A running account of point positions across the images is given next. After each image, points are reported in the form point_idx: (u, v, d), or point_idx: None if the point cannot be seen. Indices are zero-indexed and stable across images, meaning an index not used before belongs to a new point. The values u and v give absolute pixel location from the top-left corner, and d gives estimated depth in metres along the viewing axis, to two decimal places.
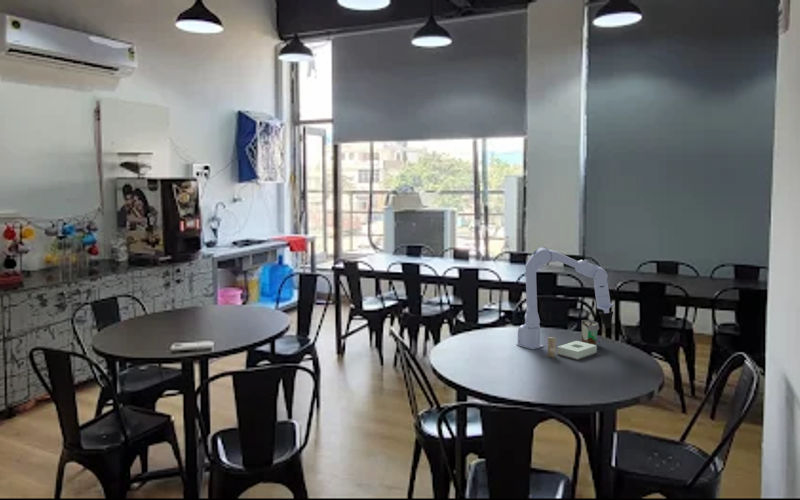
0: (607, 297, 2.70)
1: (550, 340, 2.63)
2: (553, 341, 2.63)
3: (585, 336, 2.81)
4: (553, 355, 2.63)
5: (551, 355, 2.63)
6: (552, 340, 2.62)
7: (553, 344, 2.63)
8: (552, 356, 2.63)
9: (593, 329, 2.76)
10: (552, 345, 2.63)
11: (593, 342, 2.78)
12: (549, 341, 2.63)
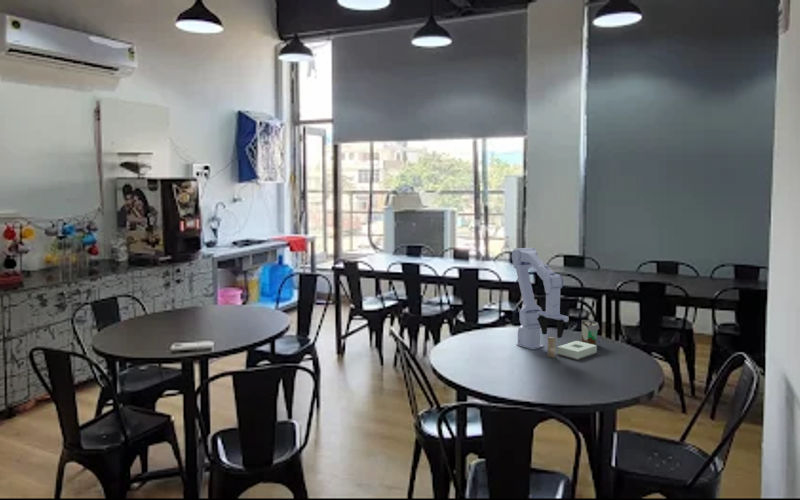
0: None
1: (550, 340, 2.63)
2: (553, 341, 2.63)
3: (585, 336, 2.81)
4: (553, 355, 2.63)
5: (551, 355, 2.63)
6: (552, 340, 2.62)
7: (553, 344, 2.63)
8: (552, 356, 2.63)
9: (593, 329, 2.76)
10: (552, 345, 2.63)
11: (593, 342, 2.78)
12: (549, 341, 2.63)
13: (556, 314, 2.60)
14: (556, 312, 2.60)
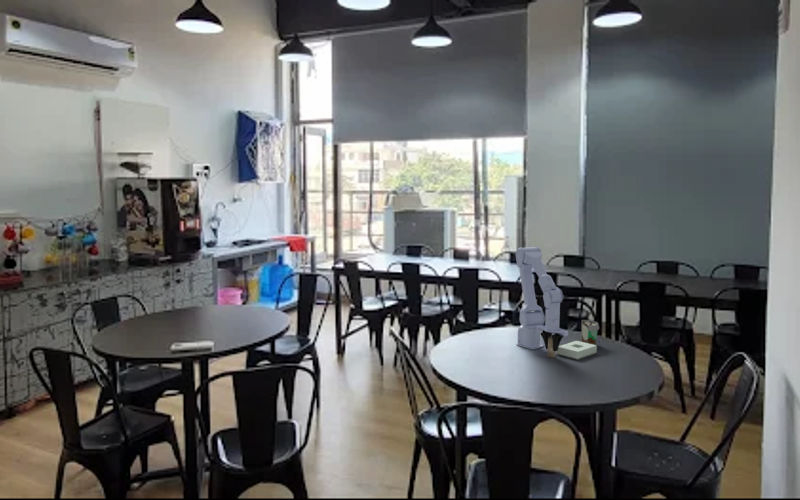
0: (545, 319, 2.64)
1: (550, 340, 2.63)
2: None
3: (585, 336, 2.81)
4: (553, 355, 2.63)
5: (551, 355, 2.63)
6: (552, 340, 2.62)
7: None
8: (552, 356, 2.63)
9: (593, 329, 2.76)
10: (552, 345, 2.63)
11: (593, 342, 2.78)
12: (549, 341, 2.63)
13: (556, 328, 2.61)
14: (555, 326, 2.60)
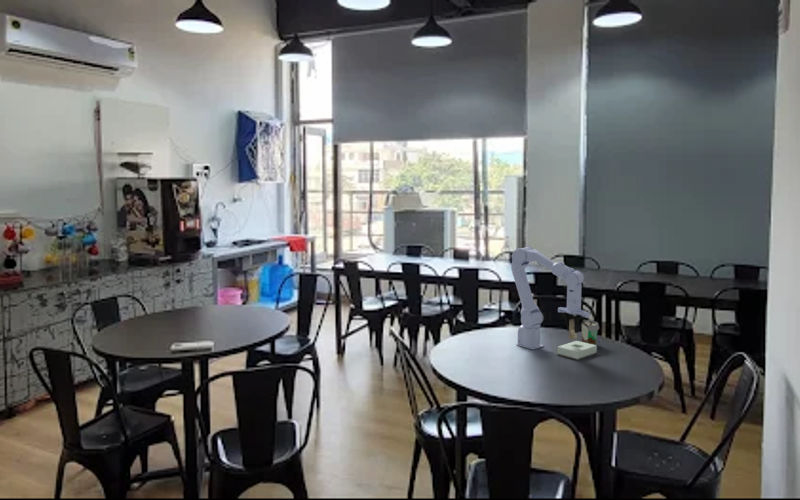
0: None
1: (571, 322, 2.64)
2: None
3: (585, 336, 2.81)
4: (574, 337, 2.65)
5: (573, 337, 2.65)
6: (573, 322, 2.64)
7: (574, 326, 2.64)
8: (573, 338, 2.65)
9: (593, 329, 2.76)
10: (573, 327, 2.64)
11: (593, 342, 2.78)
12: (570, 323, 2.65)
13: (577, 310, 2.62)
14: (577, 308, 2.62)
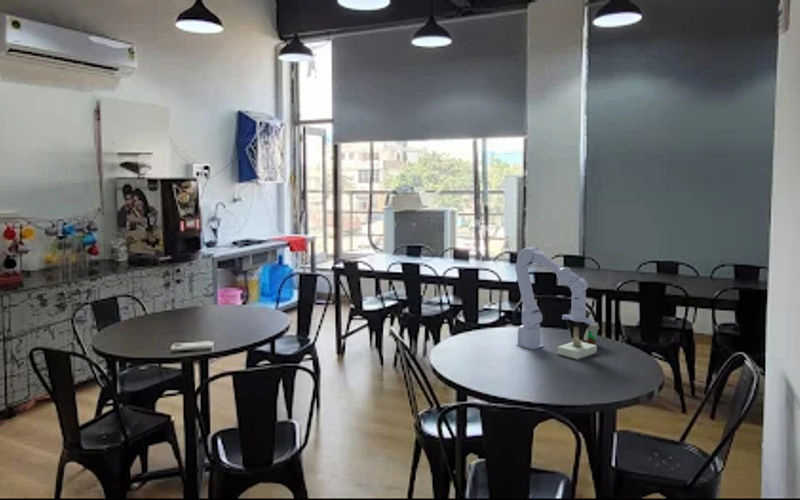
0: (571, 308, 2.66)
1: (576, 329, 2.66)
2: None
3: (585, 336, 2.81)
4: (579, 344, 2.66)
5: (577, 344, 2.66)
6: (578, 329, 2.65)
7: None
8: (578, 345, 2.66)
9: (593, 329, 2.76)
10: (578, 334, 2.65)
11: (593, 342, 2.78)
12: (575, 330, 2.66)
13: (582, 317, 2.64)
14: (581, 315, 2.63)
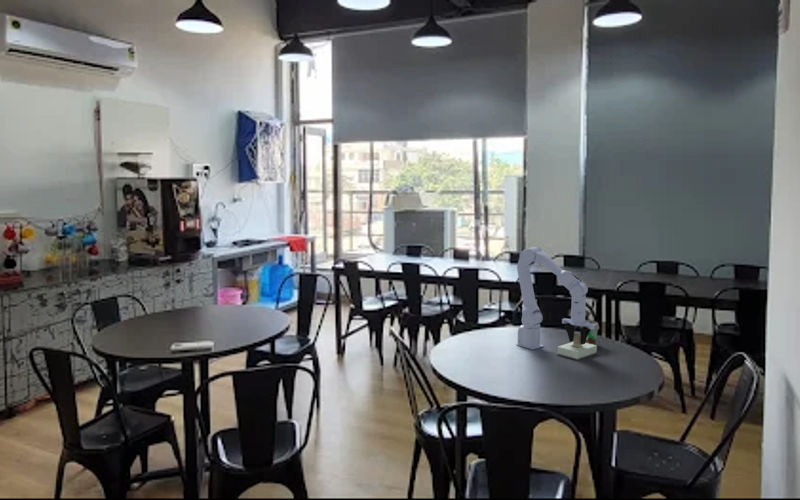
0: (571, 313, 2.67)
1: (576, 337, 2.66)
2: (579, 338, 2.65)
3: None
4: None
5: None
6: (578, 337, 2.65)
7: (579, 341, 2.66)
8: None
9: (593, 329, 2.76)
10: (578, 342, 2.66)
11: (593, 342, 2.78)
12: (575, 337, 2.66)
13: (582, 322, 2.64)
14: (581, 320, 2.64)
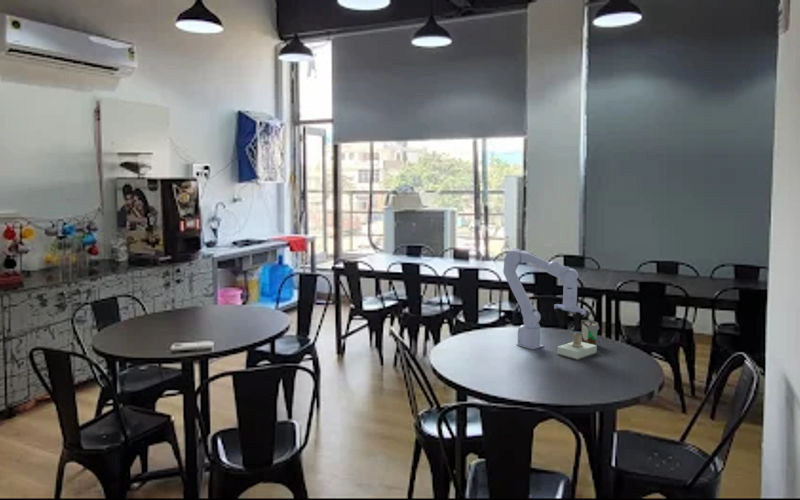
0: (563, 298, 2.72)
1: (575, 336, 2.66)
2: (578, 338, 2.66)
3: (585, 336, 2.81)
4: None
5: None
6: (577, 337, 2.66)
7: (578, 341, 2.66)
8: None
9: (593, 329, 2.76)
10: (577, 341, 2.66)
11: (593, 342, 2.78)
12: (574, 337, 2.66)
13: (573, 307, 2.69)
14: (573, 305, 2.69)
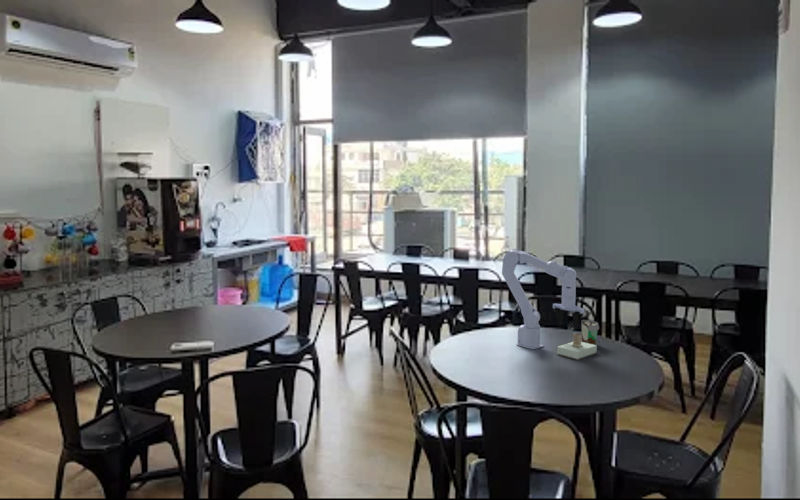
0: None
1: (576, 337, 2.66)
2: (579, 338, 2.66)
3: (585, 336, 2.81)
4: None
5: None
6: (578, 337, 2.66)
7: (579, 341, 2.66)
8: None
9: (593, 329, 2.76)
10: (578, 342, 2.66)
11: (593, 342, 2.78)
12: (575, 337, 2.66)
13: (572, 306, 2.70)
14: (571, 304, 2.70)
